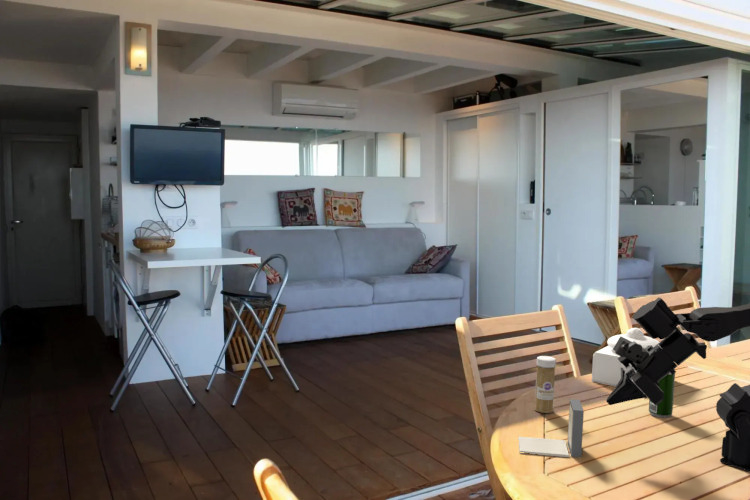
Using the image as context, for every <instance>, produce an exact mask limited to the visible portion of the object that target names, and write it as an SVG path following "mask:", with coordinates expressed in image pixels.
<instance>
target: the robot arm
mask: <svg viewBox="0 0 750 500" xmlns="http://www.w3.org/2000/svg"><path fill="white" fill-rule="evenodd" d="M632 317H633V318H632V319H633V320H634V321H635V322H636V323H637V324H638V325H639V327H640V328H642V329H643V330H644V331H645V332H646V334H647V335H648V337H651V338H652V339H656V340H657V339H659V340H661V341H659V342H660V343H658V344H657V345H656V346H655V347H653V346H652V345H651V346H650V345H649V346H647V347H646V348H645V349H644V348H642V346H641V345H640V344H637V343H636V342H635V341H633V342H631V341H629V340H627V339H625V338H623V337H620V338H619V340H618V341H617V343H616V345H615V346H614V348H613V350H615V353H616V354H618V355H619V356H620V357H619V358H618V360H619V361H620V362H621V363H622V364H623V365H624V366H625V367H626V369H623V368H622V367H621V379H620V381H619V382H618V384H617V385H616V387H615V386H614V388H613V390H612V391H611V392H610V394H609V395H608V396H607V398H606V399H605V402H606V403H607V404H608V405H610V406H612V405H616V404H620V403H625V402H629V401H634V400H635V401H636V400H639V399H647V398H648V399H650V400H651V401H652V402H653V403H654V404H655V405H658V404H659V403H660V402H661V401H663V400H664V393H663V392H662V390H661V389H660V388H659V387H658V386H659V385H660V384H659V383H658V382H659V381H660V380H661V379H662V378H664V377H665V376H666V375H667V374H669V373H671V374H672V375H673V374H674V373H675V374H676V373H677V371H676V370H674V369H676V368H677V367H678V366H680V365H681V364H683V362H686V360H687V359H689V358H690V357H691V356H693V355H694V354H695V353H696V354H697V355H698V356H700V357H701V358H702V359H703V360H706V358H707V348H708V346H707V344H706V343H705V342H710V343H711V342H716V341H719V340H721V339H724V338H726V337H730V336H732V334H734V333H736V332H738V331H739V330H741V329H744V328H748V327H750V303H748V304H742V305H738V306H731V307H729V306H728V307H725V306H723V307H721V306H712V307H711V306H709V307H698V308H695V309H693V310H691V312H683V313H674V311H673V310H672V309H671V308H670V307H669V306H668V305H667V302H666V301H664V300H663V298H661V297H657V298H656V299H655V300H651V301H649V302H648V303H646V304H643V305H641V306H640V307H639V308H638V309H637V310H636V311H635V312H634V314H633V316H632ZM678 326H679V327H681V328H682V329H684V330H685V331H686V332H685V333H683V332H682V331H681V330H680V329H679V327H678ZM691 333H692V334H694V335H695V336H696V337H698V338H700V339H701V340H703V341H705V342H699V341H697V339H696V338H695V337H694V336H693V335H692V334H691ZM658 345H659V346H660V347H661V348H660V347H659V346H658ZM715 405H716V407H715V409H716V413H717V416H719V418H720V419H721V420H722V421H723V422H724V424H725V425H724V426H725V427H726V428H728V430H726V431H725V435H724V437H722V441H721V442H722V444H721V457H722V458H720V459H719V461H720V462H719V463H722V464H725V465H729V466H732V467H734V468H737V469H740V470H744V471H746V472H750V384H748V385H744V386H742V387H741V386H740V385H739V384H738V383H735V382H734V383H733V384H732V385H730V387H729V388H728V389H727V390H726V391H725V392H722V393H720V394H719V399H718V400H717V401H716V404H715Z"/></svg>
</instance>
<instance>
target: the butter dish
mask: <svg viewBox="0 0 750 500" xmlns="http://www.w3.org/2000/svg"><path fill="white" fill-rule="evenodd" d="M620 337H623V338H625V339H627V340H629V341H631V342H633V341H635V342H636V343H637V344H640V345H641V346H642V348H644V349H645V348H646V347H647V346H649V345H650V346H651V345H652V346H653V347H655V346H656V345H657V344H658V343H660V342H661V341H660V340H658V339H657V338H656V339H652V338H651V337H650V336H649V335H648V336H647V335H645V333H644V331H642V330H641V329H640V328H639V327H632V328H629V329H628V330H627V331H626V333H622V334H621V333H620V334H616V335H613V336H610V337H609V338H607V341H606V343H607V346H604V347H603V348H601V349H599V350H597V351H595V352H594V353H593V355H592V365H591V366H592V367H591V368H592V371H591V382H593V383H597V384H600V385H601V384H602V385H607V386H611V387H614V388H615V387H616V385H617V384H618V382H619V381H620V379H621V367H622V368H623V369H626V367H625V366H624V365H623V364H622V363H621V362H620V361H619V360H618V358H619V357H620V356H619V355H618V354H616V353H615V350H613V348H614V346H615V345H616V343H617V341H618V340H619V338H620ZM658 346H659V345H658ZM659 347H660V346H659ZM660 348H661V347H660ZM675 369H676V368H675ZM675 369H674V370H675ZM675 371H676V370H675Z"/></svg>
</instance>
